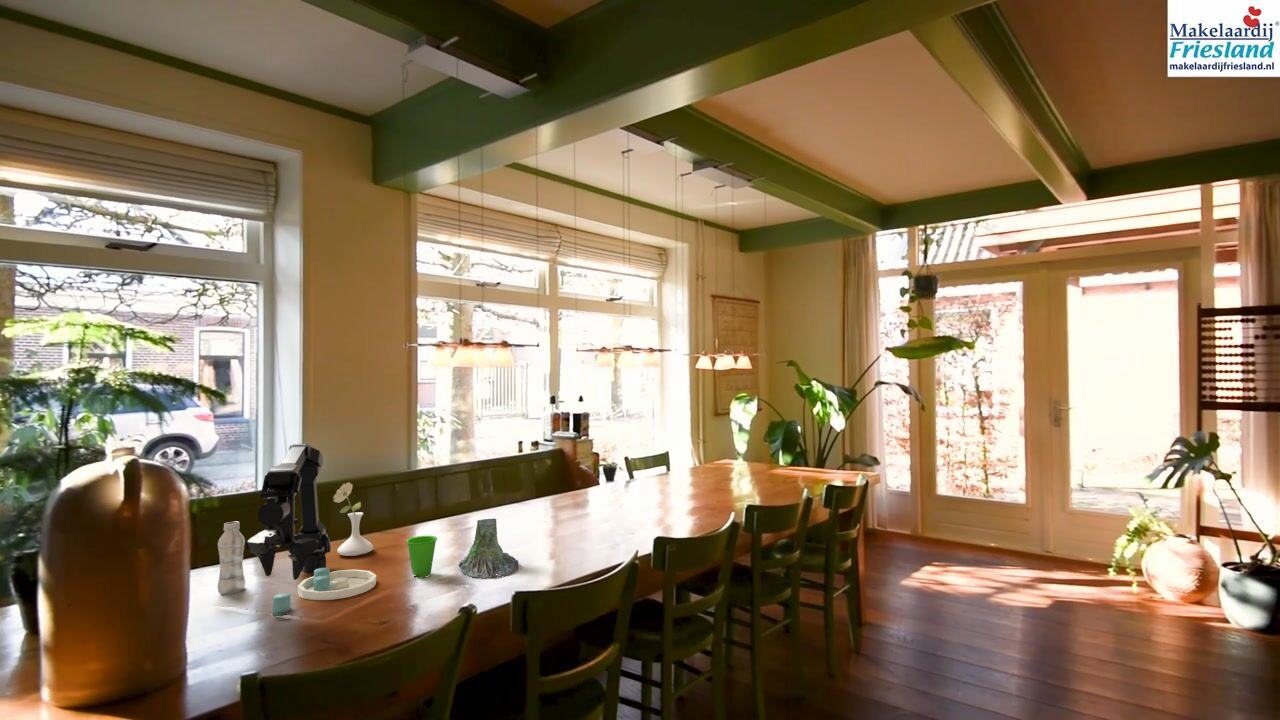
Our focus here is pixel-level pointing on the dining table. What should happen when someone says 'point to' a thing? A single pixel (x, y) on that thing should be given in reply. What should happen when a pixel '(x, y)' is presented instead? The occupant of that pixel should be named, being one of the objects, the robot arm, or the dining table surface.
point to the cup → (421, 554)
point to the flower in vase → (356, 541)
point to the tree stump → (487, 554)
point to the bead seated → (321, 572)
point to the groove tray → (353, 589)
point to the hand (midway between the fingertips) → (282, 577)
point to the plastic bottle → (231, 559)
